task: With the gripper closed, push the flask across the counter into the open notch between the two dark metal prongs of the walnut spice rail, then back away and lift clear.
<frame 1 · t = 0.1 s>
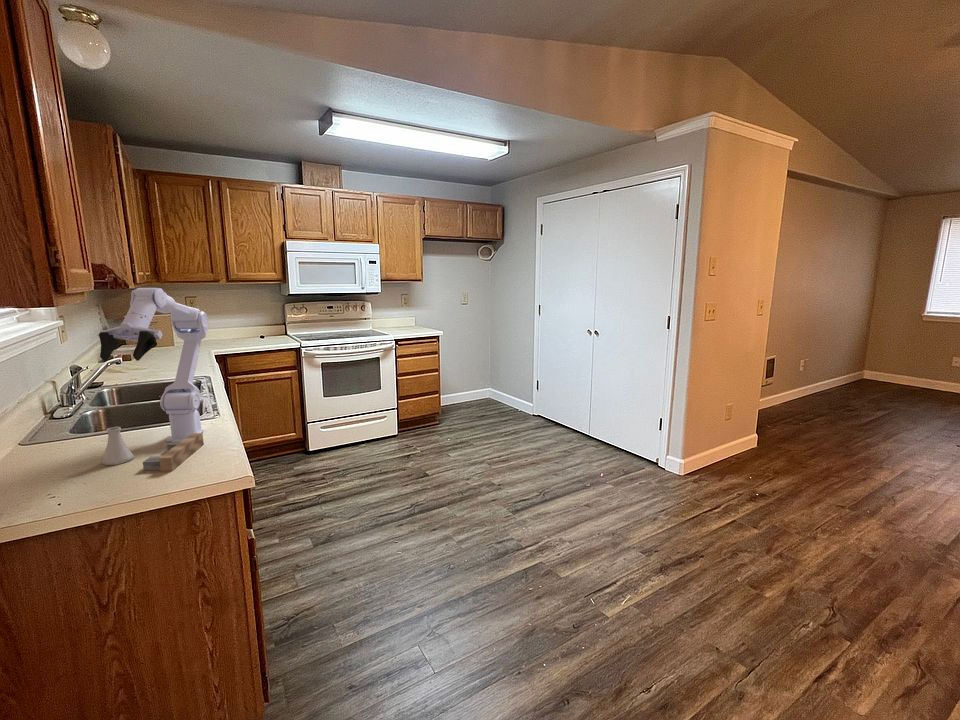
hand: (119, 358, 117), 32 cm above the countertop, tool tilted 50°, fingers open, 7 cm apart
spice rail: (167, 458, 133), on the countertop
flask: (118, 461, 130), on the countertop
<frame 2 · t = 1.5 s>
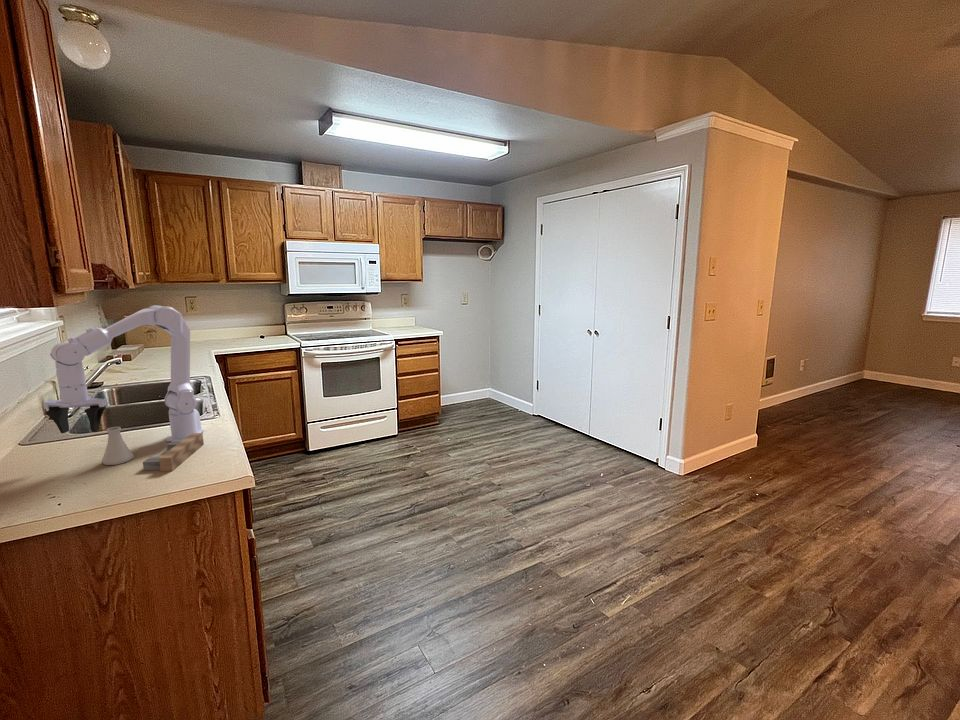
hand: (80, 431, 127), 9 cm above the countertop, tool pointing down, fingers open, 7 cm apart
nothing on the countertop moved.
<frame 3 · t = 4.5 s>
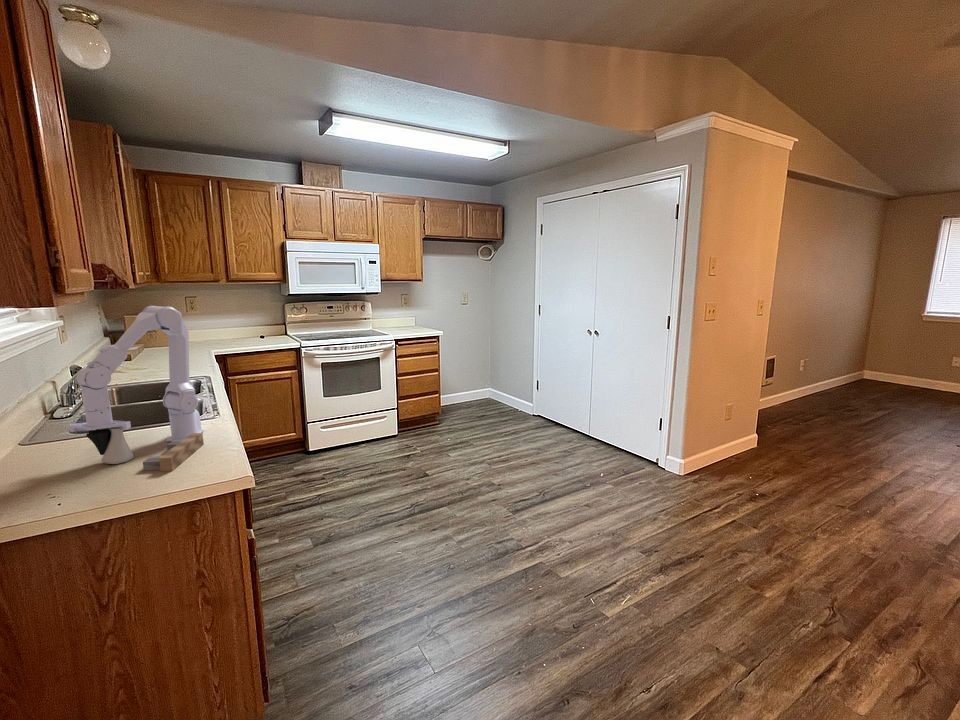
hand: (104, 453, 129), 2 cm above the countertop, tool pointing down, fingers closed
flask: (118, 460, 130), on the countertop, touching gripper
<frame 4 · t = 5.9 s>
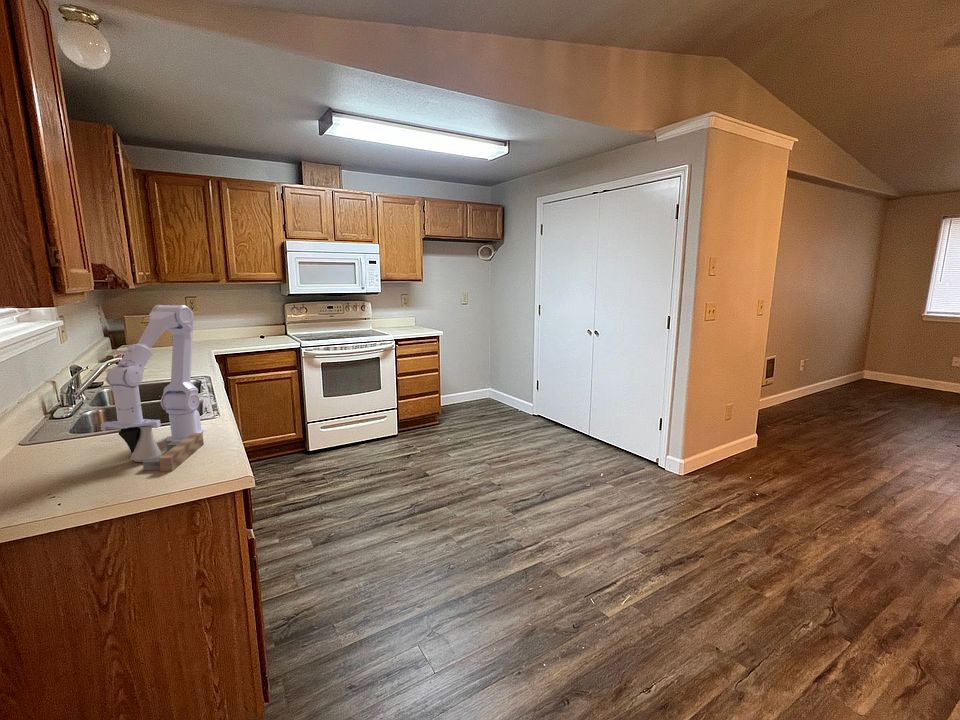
hand: (134, 451, 131), 2 cm above the countertop, tool pointing down, fingers closed
flask: (146, 458, 132), on the countertop, touching gripper
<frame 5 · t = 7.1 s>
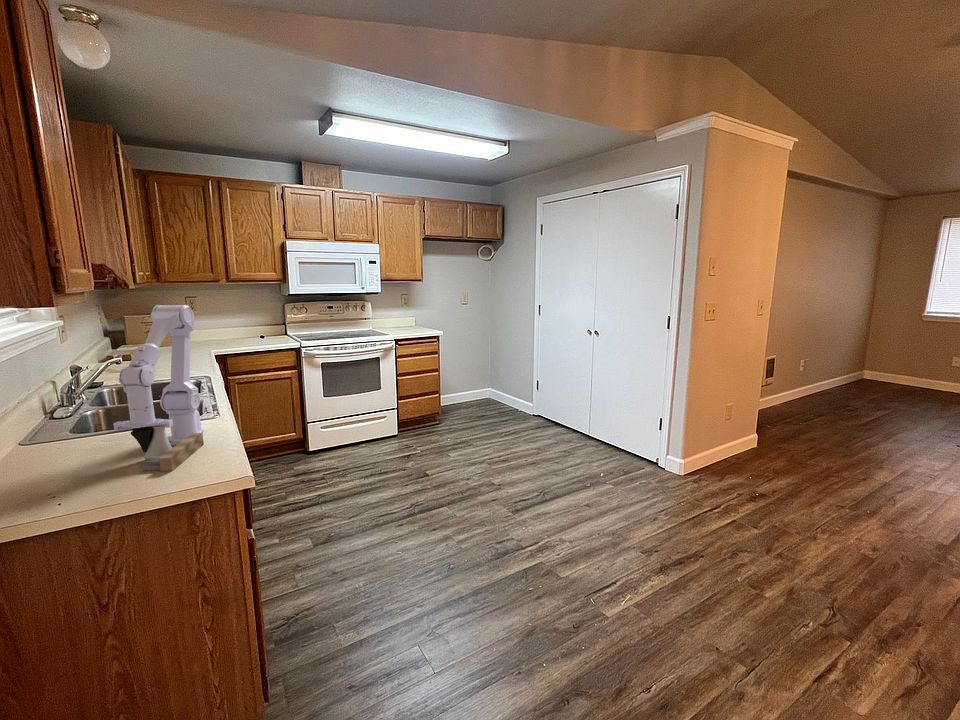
hand: (147, 451, 131), 2 cm above the countertop, tool pointing down, fingers closed
flask: (160, 457, 132), on the countertop, touching gripper
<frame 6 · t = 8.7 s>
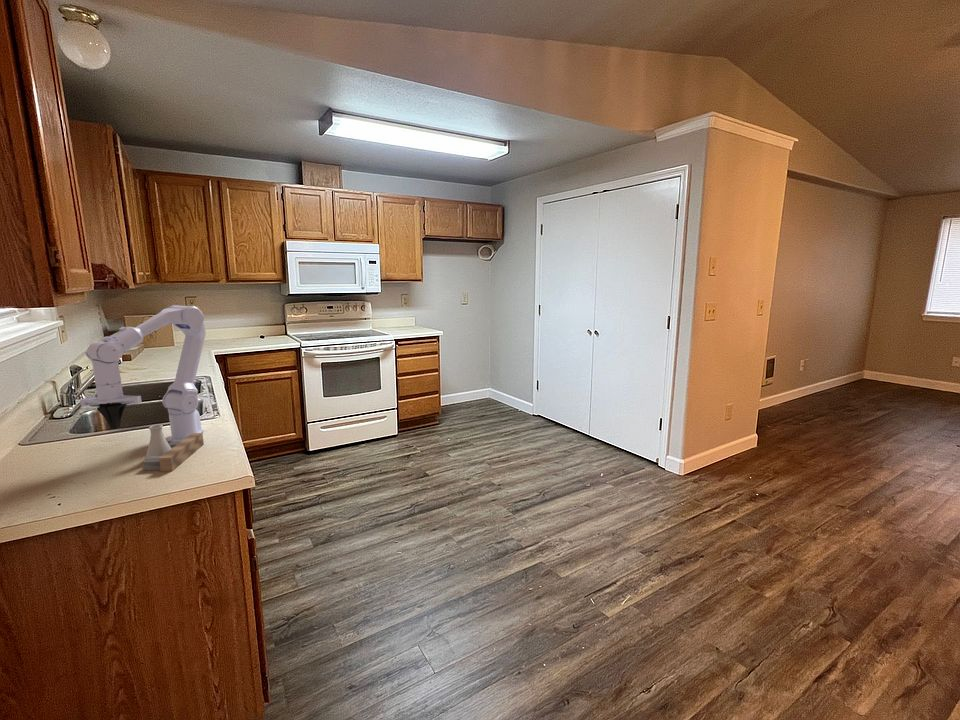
hand: (115, 427, 131), 9 cm above the countertop, tool pointing down, fingers closed
flask: (160, 458, 132), on the countertop
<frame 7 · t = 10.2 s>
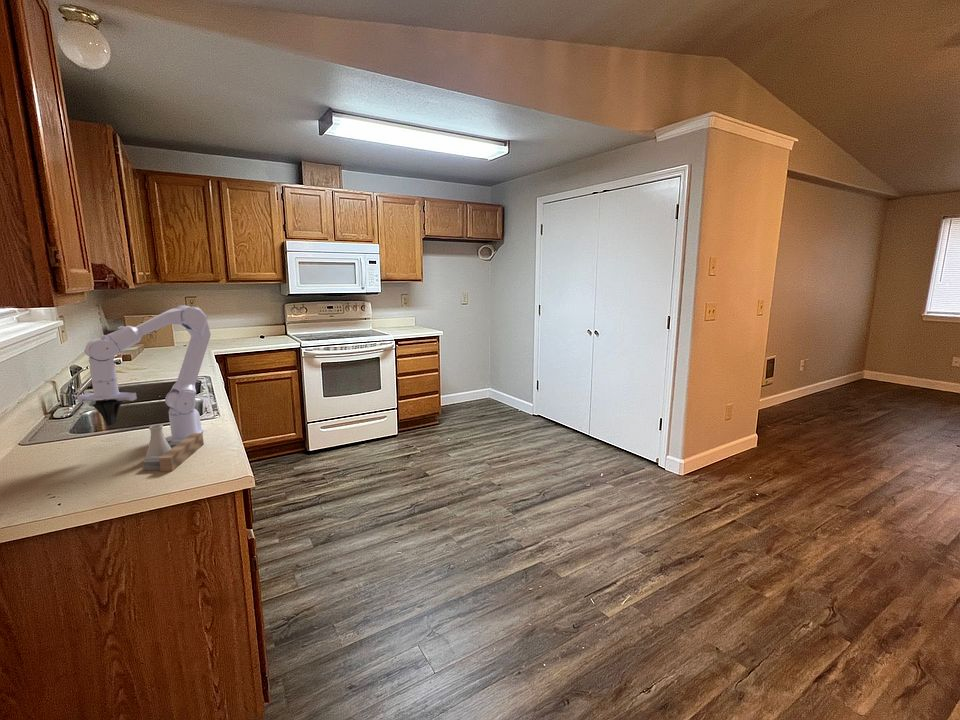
hand: (111, 424, 134), 9 cm above the countertop, tool pointing down, fingers closed
nothing on the countertop moved.
at the end: flask 1.6 cm from the target spot, on the countertop; flask tilted 0° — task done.
